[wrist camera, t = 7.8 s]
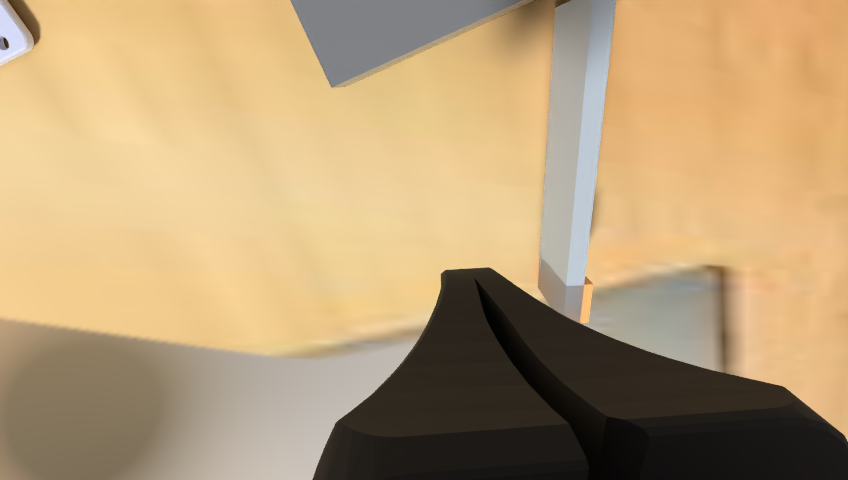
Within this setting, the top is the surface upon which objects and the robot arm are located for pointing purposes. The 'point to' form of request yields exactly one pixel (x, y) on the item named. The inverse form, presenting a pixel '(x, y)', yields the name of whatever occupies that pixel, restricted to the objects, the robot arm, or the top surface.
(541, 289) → the side door
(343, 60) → the grey flat block
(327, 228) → the top surface
